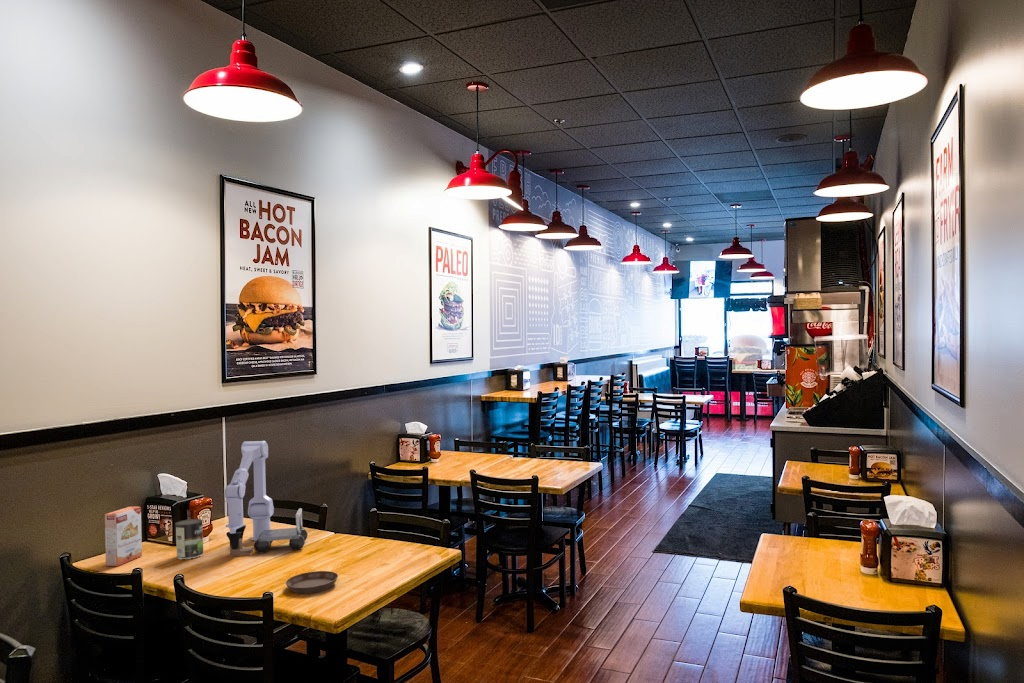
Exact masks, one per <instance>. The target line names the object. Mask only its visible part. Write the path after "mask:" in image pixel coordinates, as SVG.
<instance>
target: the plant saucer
mask: <svg viewBox="0 0 1024 683" xmlns="http://www.w3.org/2000/svg"><path fill="white" fill-rule="evenodd" d="M338 577H339V575H338V573H336V572H335V571H328V570H318V571H308V572H304V573H299V574H297V575H293V576H291V577H289V578H287V580H285V585H286V586H287V588H288V589H289V590H290V591H291V592H293V593H297V594H315V593H319V592H320V593H321V592H323V591H326V590H328V589H330V588H331V587H333V585H335V583H336V581H337V580H338Z"/></svg>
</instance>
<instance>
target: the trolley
mask: <svg viewBox="0 0 1024 683" xmlns="http://www.w3.org/2000/svg"><path fill="white" fill-rule="evenodd" d="M295 525H296V526H295V527H290V528H288V527H287V528H278V529H276V528H275V529H271V530H264V531H263V532H262V533H261V534H260V536H259V538H258V539H257V540H255V542H254V544H253V549H254V550H255V552H256V553H258V554H263V553H266V552H267V551H268V550H269V548H270V546H271V545H272V543H273V542H274V541H285V540H286V541H287V540H289V543H288V544H289V547H290V549H292V550H293V551H299V550H301V549H303V548H304V545H305V542H306V540H307V538H308V531H307V530H306V529H305V528H304V527H303V508H301V507H300V508H298V510H297V511H296V514H295Z"/></svg>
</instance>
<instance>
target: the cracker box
mask: <svg viewBox="0 0 1024 683" xmlns="http://www.w3.org/2000/svg"><path fill="white" fill-rule="evenodd" d="M142 536H143V535H142V507H141V506H126V507H124V508H120V509H117V510H114V511H110V512H108V513H107V512H106V513H105V514H104V540H105V542H104V544H105V545H104V546H105V548H104V549H105V567H120V566H122V565H124V564H127V563H129V562H132V561H134V560H136V559H135V558H137V559H139V558H141V557H140V556H143V545H142V540H143V539H142ZM138 557H139V558H138ZM133 559H134V560H133ZM131 560H132V561H131Z"/></svg>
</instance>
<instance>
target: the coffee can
mask: <svg viewBox="0 0 1024 683" xmlns="http://www.w3.org/2000/svg"><path fill="white" fill-rule="evenodd" d="M203 522H204V521H203V519H202V518H190V519H184V520H179V521H177V522H175V523H174V526H175V542H176V543H175V544H176V546H175V547H176V559H177V558H178V559H177V560H182V559H185V560H192V559H191V558H193V559H196V557H197V558H200V557H202V556H204V554H205V552H204V538H203V537H204V533H203V529H204V528H203V526H204V525H203ZM201 555H202V556H201ZM199 556H200V557H199Z"/></svg>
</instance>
